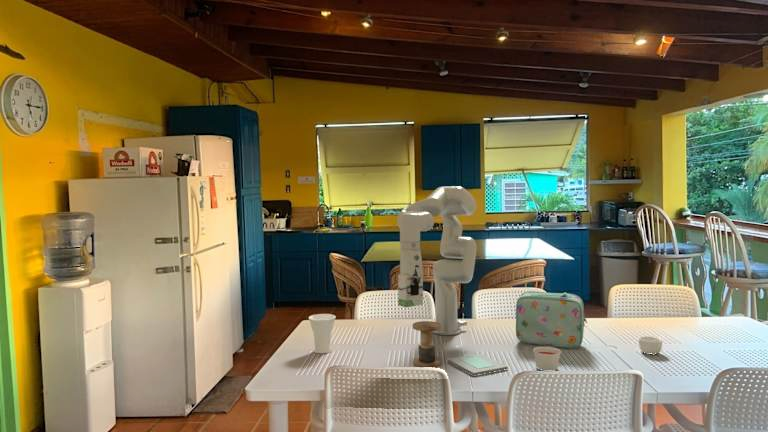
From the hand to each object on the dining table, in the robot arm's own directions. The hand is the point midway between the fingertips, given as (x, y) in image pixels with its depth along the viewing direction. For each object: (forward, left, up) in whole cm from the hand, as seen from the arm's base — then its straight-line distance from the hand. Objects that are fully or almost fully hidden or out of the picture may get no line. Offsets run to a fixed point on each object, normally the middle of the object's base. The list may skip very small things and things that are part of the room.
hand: (410, 293), depth 201 cm
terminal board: (-14, +23, -23) cm, 35 cm away
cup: (+29, -19, -24) cm, 42 cm away
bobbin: (0, +12, -23) cm, 26 cm away
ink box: (0, 0, -5) cm, 5 cm away
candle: (-34, +36, -24) cm, 55 cm away
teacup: (-80, +40, -24) cm, 93 cm away
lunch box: (-55, +15, -24) cm, 62 cm away
